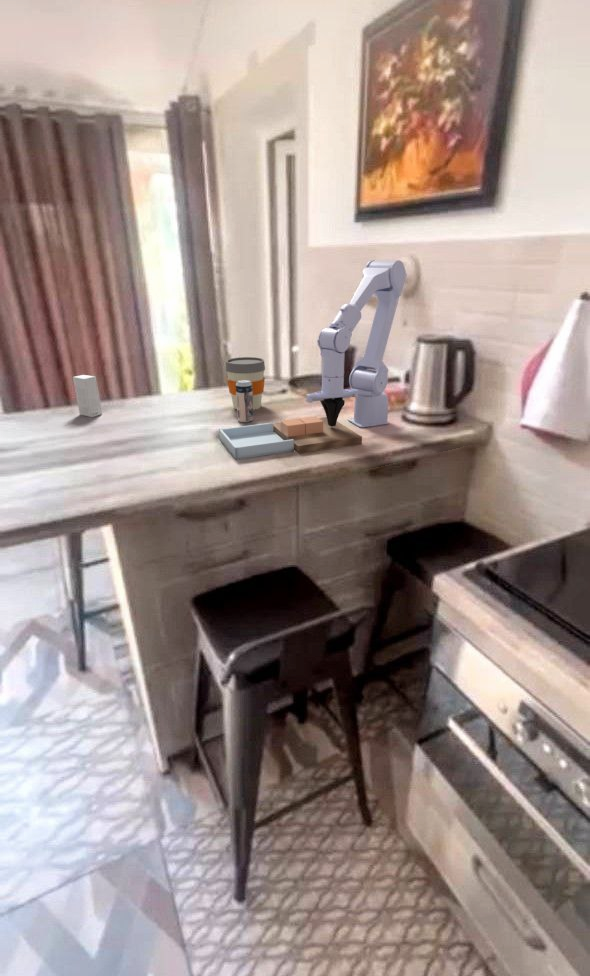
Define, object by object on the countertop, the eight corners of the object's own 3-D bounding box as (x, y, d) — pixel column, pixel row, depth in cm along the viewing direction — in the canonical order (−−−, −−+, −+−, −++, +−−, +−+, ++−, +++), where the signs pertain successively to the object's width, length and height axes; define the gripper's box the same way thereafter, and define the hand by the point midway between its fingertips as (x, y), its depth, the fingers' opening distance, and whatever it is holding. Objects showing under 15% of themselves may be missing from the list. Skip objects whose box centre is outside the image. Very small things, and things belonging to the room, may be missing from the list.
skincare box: (102, 414, 162) (96, 376, 157) (91, 417, 159) (84, 379, 154) (90, 411, 165) (83, 374, 160) (79, 414, 162) (71, 376, 157)
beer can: (251, 423, 152) (249, 383, 147) (235, 422, 152) (233, 382, 148) (255, 419, 156) (253, 379, 151) (240, 418, 157) (238, 379, 152)
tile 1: (298, 429, 140) (298, 418, 139) (305, 434, 136) (305, 423, 134) (280, 431, 138) (280, 420, 137) (287, 437, 134) (287, 425, 133)
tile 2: (315, 426, 142) (315, 416, 140) (323, 432, 137) (323, 421, 136) (298, 429, 140) (298, 418, 139) (305, 434, 136) (305, 423, 134)
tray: (272, 432, 144) (272, 422, 142) (293, 451, 130) (293, 439, 129) (219, 439, 138) (218, 429, 137) (235, 459, 125) (235, 448, 124)
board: (329, 423, 151) (329, 416, 150) (361, 444, 134) (362, 436, 134) (271, 430, 145) (271, 423, 145) (298, 453, 128) (297, 446, 128)
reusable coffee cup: (265, 412, 163) (263, 364, 157) (225, 412, 163) (222, 364, 157) (267, 401, 174) (266, 356, 168) (230, 402, 174) (227, 357, 168)
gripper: (350, 370, 141) (348, 418, 146) (301, 374, 136) (301, 424, 141) (363, 375, 135) (360, 425, 140) (312, 380, 130) (311, 431, 135)
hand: (331, 425), depth 140 cm, fingers closed
